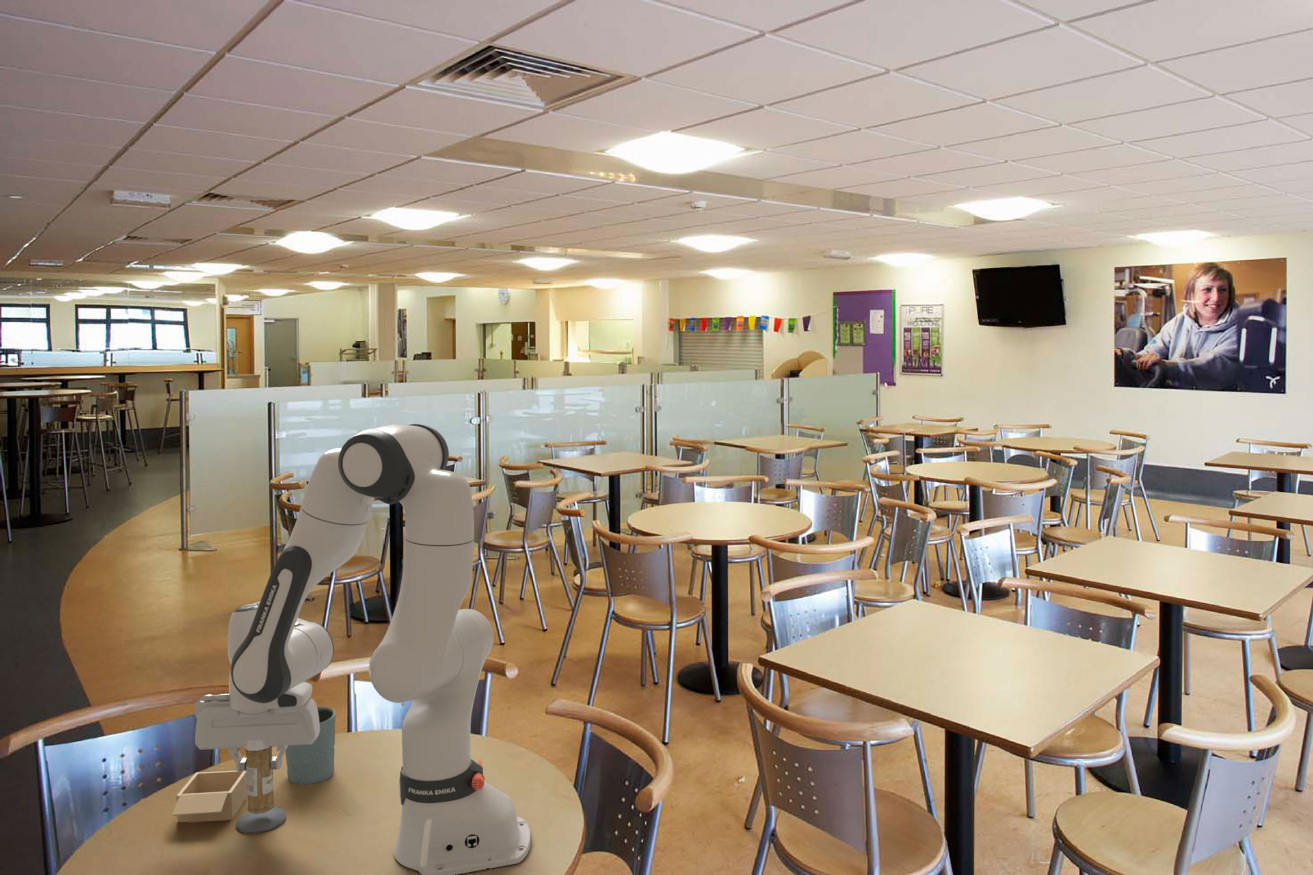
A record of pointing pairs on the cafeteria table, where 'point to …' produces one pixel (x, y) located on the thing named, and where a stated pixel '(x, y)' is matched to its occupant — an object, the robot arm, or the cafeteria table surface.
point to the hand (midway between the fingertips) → (259, 768)
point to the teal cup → (314, 753)
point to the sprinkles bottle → (259, 777)
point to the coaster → (261, 821)
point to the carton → (211, 796)
